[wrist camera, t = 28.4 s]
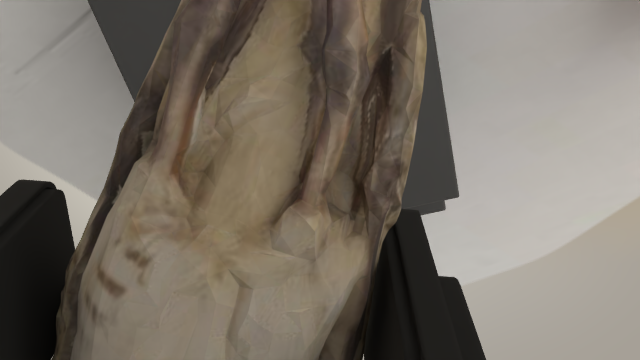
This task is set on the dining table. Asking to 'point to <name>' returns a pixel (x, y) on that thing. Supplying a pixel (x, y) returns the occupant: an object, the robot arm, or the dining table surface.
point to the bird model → (251, 186)
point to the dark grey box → (432, 125)
